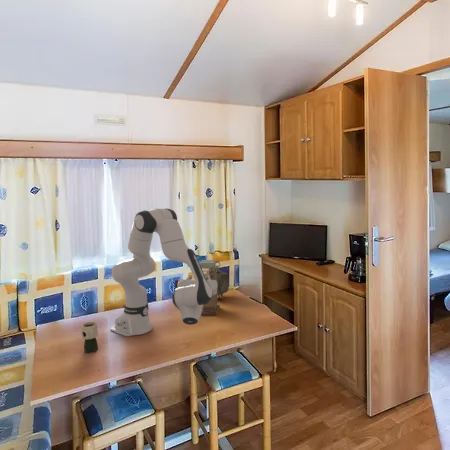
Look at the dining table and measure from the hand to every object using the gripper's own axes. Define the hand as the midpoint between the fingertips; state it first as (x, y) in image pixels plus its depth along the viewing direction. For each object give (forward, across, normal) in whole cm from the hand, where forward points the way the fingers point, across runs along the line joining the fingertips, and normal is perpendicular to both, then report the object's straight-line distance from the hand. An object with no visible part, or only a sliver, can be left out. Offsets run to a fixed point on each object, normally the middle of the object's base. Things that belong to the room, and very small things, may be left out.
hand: (199, 275), depth 196 cm
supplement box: (+18, +19, +44) cm, 52 cm away
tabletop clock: (+28, -1, +50) cm, 57 cm away
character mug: (-38, +49, +12) cm, 63 cm away
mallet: (+11, 0, +10) cm, 15 cm away
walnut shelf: (+7, 0, +38) cm, 39 cm away
